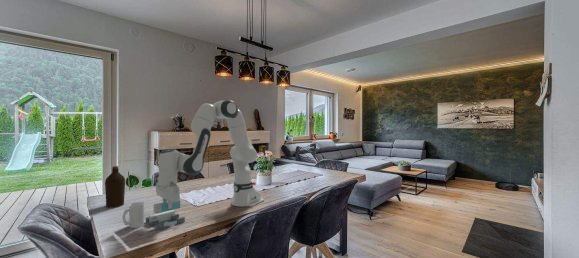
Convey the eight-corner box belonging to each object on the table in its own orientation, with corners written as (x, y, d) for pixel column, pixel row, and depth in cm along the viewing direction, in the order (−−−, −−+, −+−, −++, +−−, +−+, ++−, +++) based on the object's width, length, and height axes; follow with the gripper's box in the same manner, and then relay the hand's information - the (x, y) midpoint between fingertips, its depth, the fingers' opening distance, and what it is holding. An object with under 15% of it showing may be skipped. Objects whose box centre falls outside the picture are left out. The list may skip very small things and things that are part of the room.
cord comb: (172, 216, 139) (172, 210, 139) (184, 223, 130) (184, 217, 130) (145, 224, 129) (145, 217, 129) (156, 232, 119) (156, 225, 119)
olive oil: (128, 204, 159) (128, 166, 158) (109, 209, 149) (109, 168, 149) (120, 201, 164) (120, 164, 163) (101, 206, 155) (101, 166, 154)
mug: (139, 223, 129) (140, 201, 129) (147, 226, 126) (147, 203, 126) (118, 230, 121) (119, 206, 120) (126, 233, 117) (126, 209, 117)
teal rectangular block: (177, 206, 132) (177, 199, 132) (180, 208, 130) (180, 200, 130) (153, 212, 123) (153, 204, 123) (156, 213, 121) (156, 205, 121)
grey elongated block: (172, 216, 137) (172, 209, 137) (175, 218, 135) (175, 210, 135) (149, 222, 128) (149, 215, 128) (151, 224, 126) (151, 216, 126)
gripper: (183, 183, 122) (183, 210, 122) (165, 176, 136) (165, 201, 136) (170, 185, 117) (170, 213, 118) (153, 178, 131) (153, 204, 131)
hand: (167, 207), depth 127 cm, fingers closed on teal rectangular block, 3 cm apart
